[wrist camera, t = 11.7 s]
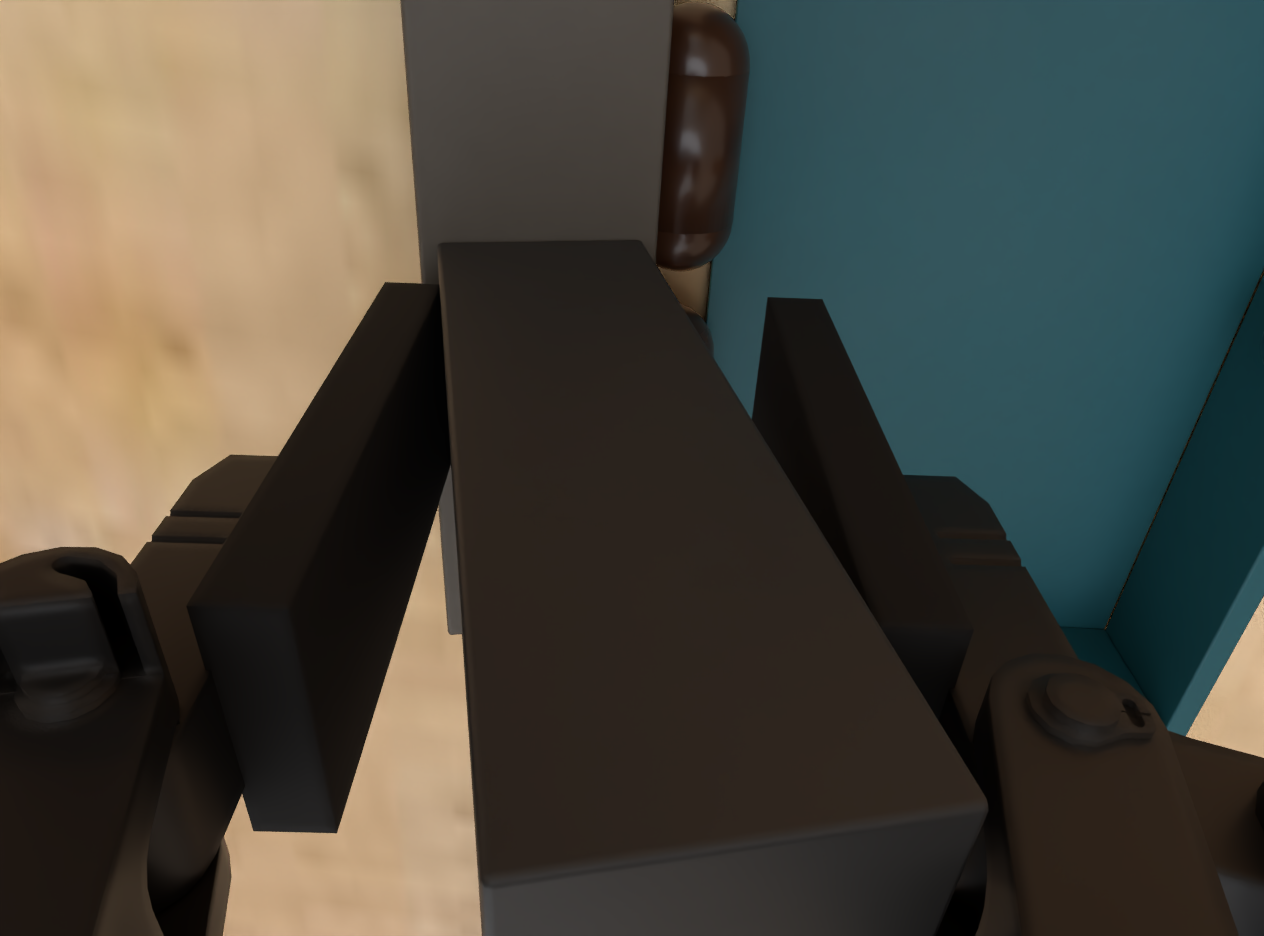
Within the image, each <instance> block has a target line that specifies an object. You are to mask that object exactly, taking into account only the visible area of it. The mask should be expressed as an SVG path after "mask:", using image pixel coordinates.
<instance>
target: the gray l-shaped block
mask: <svg viewBox="0 0 1264 936" xmlns="http://www.w3.org/2000/svg"><path fill="white" fill-rule="evenodd" d="M400 1H401V14H402V27H403V41H404V54H405V67H406V80H407V94H408V107H409V120H410V134H411V147H412V160H413V173H414V187H415V200H416V213H417V227H418V240H419V253H420V266H421V280H422V284H439V287H440V302H441V318H442V333H443V349H444V364H445V380H446V395H447V411H448V426H449V442H450V458H451V466H450V469H449V472H448V476H447V479H446V482H445V485H444V488H443V492H442V495H441V498H440V501H439V519H440V532H441V545H442V559H443V572H444V585H445V598H446V612H447V625H448V632H449V634H450V635H455V634H462V639H463V654H464V670H465V685H466V700H467V715H468V730H469V745H470V760H471V775H472V790H473V805H474V821H475V836H476V851H477V866H478V881H479V896H480V911H481V926H482V936H936V934H937V932H938V929H939V927H940V925H941V922H942V920H943V917H944V915H945V913H946V910H947V908H948V906H949V903H950V901H951V898H952V896H953V894H954V891H955V889H956V887H957V884H958V882H959V880H960V877H961V875H962V872H963V870H964V868H965V865H966V863H967V861H968V858H969V856H970V853H971V851H972V849H973V846H974V844H975V842H976V839H977V837H978V834H979V832H980V830H981V827H982V825H983V823H984V820H985V818H986V816H987V813H988V803H987V799H986V797H985V795H984V794H983V792H982V790H981V789H980V787H979V785H978V784H977V782H976V781H975V779H974V777H973V776H972V774H971V773H970V771H969V769H968V768H967V766H966V765H965V763H964V761H963V760H962V758H961V756H960V755H959V753H958V752H957V750H956V748H955V747H954V745H953V744H952V742H951V740H950V739H949V737H948V735H947V734H946V732H945V731H944V729H943V727H942V726H941V724H940V723H939V721H938V719H937V718H936V716H935V714H934V713H933V711H932V710H931V708H930V706H929V705H928V703H927V702H926V700H925V698H924V697H923V695H922V693H921V692H920V690H919V689H918V687H917V685H916V684H915V682H914V681H913V679H912V677H911V676H910V674H909V673H908V671H907V669H906V668H905V666H904V664H903V663H902V661H901V660H900V658H899V656H898V655H897V653H896V652H895V650H894V648H893V647H892V645H891V643H890V642H889V640H888V639H887V637H886V635H885V634H884V632H883V631H882V629H881V627H880V626H879V624H878V622H877V621H876V619H875V618H874V616H873V614H872V613H871V611H870V610H869V608H868V606H867V605H866V603H865V601H864V600H863V598H862V597H861V595H860V593H859V592H858V590H857V589H856V587H855V585H854V584H853V582H852V580H851V579H850V577H849V576H848V574H847V572H846V571H845V569H844V568H843V566H842V564H841V563H840V561H839V560H838V558H837V556H836V555H835V553H834V551H833V550H832V548H831V547H830V545H829V543H828V542H827V540H826V539H825V537H824V535H823V534H822V532H821V530H820V529H819V527H818V526H817V524H816V522H815V521H814V519H813V518H812V516H811V514H810V513H809V511H808V509H807V508H806V506H805V505H804V503H803V501H802V500H801V498H800V497H799V495H798V493H797V492H796V490H795V488H794V487H793V485H792V484H791V482H790V480H789V479H788V477H787V476H786V474H785V472H784V471H783V469H782V467H781V466H780V464H779V463H778V461H777V459H776V458H775V456H774V455H773V453H772V451H771V450H770V448H769V447H768V445H767V443H766V442H765V440H764V438H763V437H762V435H761V434H760V432H759V430H758V429H757V427H756V426H755V424H754V422H753V421H752V419H751V417H750V416H749V414H748V413H747V411H746V409H745V408H744V406H743V405H742V403H741V401H740V400H739V398H738V396H737V395H736V393H735V392H734V390H733V388H732V387H731V385H730V384H729V382H728V380H727V379H726V377H725V375H724V374H723V372H722V371H721V369H720V367H719V366H718V364H717V363H716V361H715V359H714V358H713V356H712V354H711V353H710V351H709V350H708V348H707V346H706V345H705V343H704V342H703V340H702V338H701V337H700V335H699V334H698V332H697V330H696V329H695V327H694V325H693V324H692V322H691V321H690V319H689V317H688V316H687V314H686V313H685V311H684V309H683V308H682V306H681V304H680V303H679V301H678V300H677V298H676V296H675V295H674V293H673V292H672V290H671V288H670V287H669V285H668V283H667V282H666V280H665V279H664V277H663V275H662V274H661V272H660V271H659V269H658V267H657V266H656V264H655V262H656V248H657V234H658V220H659V206H660V192H661V177H662V163H663V149H664V135H665V121H666V107H667V93H668V79H669V65H670V51H671V37H672V22H673V8H674V0H400Z"/></svg>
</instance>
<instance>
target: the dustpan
mask: <svg viewBox="0 0 1264 936" xmlns="http://www.w3.org/2000/svg"><path fill="white" fill-rule="evenodd" d="M735 22H736V23H737V24H738V26H739V27H740V29H741V30H742V32H743V34H744V36H745V39H746V42H747V44H748V49H749V55H750V72H749V81H748V90H747V99H746V108H745V117H744V126H743V135H742V144H741V154H740V163H739V172H738V181H737V190H736V199H735V208H734V217H733V224H732V228H731V233H730V236H729V238H728V240H727V243H726V244H725V246H724V247H723V249H722V250H721V251H720V253H719V254H718V255H717V256H716V257H714V258H713V259H712V261H711V272H710V282H709V292H708V302H707V313H706V324H707V325H708V328H709V330H710V332H711V335H712V339H713V344H714V357H713V358H714V359H715V361H716V363H717V364H718V366H719V367H720V369H721V371H722V372H723V374H724V375H725V377H726V379H727V380H728V382H729V384H730V385H731V387H732V388H733V390H734V392H735V393H736V395H737V396H738V398H739V400H740V401H741V403H742V405H743V406H744V408H745V409H746V411H747V413H748V414H749V416H750V417H751V419H752V413H753V406H754V398H755V390H756V383H757V375H758V367H759V359H760V352H761V344H762V336H763V329H764V321H765V313H766V305H767V298H768V297H779V298H805V299H823V302H824V304H825V306H826V308H827V310H828V313H829V315H830V317H831V319H832V321H833V323H834V326H835V328H836V330H837V332H838V334H839V336H840V339H841V341H842V343H843V345H844V347H845V350H846V352H847V354H848V356H849V358H850V360H851V363H852V365H853V367H854V369H855V371H856V374H857V376H858V378H859V380H860V382H861V384H862V387H863V389H864V391H865V393H866V395H867V398H868V400H869V402H870V404H871V406H872V408H873V411H874V413H875V415H876V417H877V419H878V422H879V424H880V426H881V428H882V430H883V432H884V435H885V437H886V439H887V441H888V443H889V446H890V448H891V450H892V452H893V454H894V456H895V459H896V461H897V463H898V465H899V467H900V470H901V472H902V474H903V475H927V476H956V477H957V478H958V479H959V480H961V481H962V482H963V483H964V484H965V485H967V486H968V487H969V488H970V489H972V490H973V491H974V492H975V493H977V494H978V495H979V496H980V497H982V498H983V499H984V500H985V501H986V502H988V503H989V504H990V506H991V508H992V510H993V511H994V513H995V515H996V517H997V518H998V520H999V522H1000V524H1001V525H1002V527H1003V529H1004V530H1005V532H1006V534H1007V536H1006V540H1010V541H1011V543H1012V544H1013V546H1014V548H1015V550H1016V551H1017V553H1018V555H1019V557H1020V558H1021V566H1022V567H1026V569H1027V570H1028V572H1029V574H1030V576H1031V577H1032V579H1033V581H1034V583H1035V584H1036V586H1037V588H1038V590H1039V591H1040V593H1041V595H1042V596H1043V598H1044V600H1045V602H1046V603H1047V605H1048V607H1049V609H1050V610H1051V612H1052V614H1053V616H1054V617H1055V619H1056V621H1057V623H1058V624H1059V626H1060V628H1061V629H1062V631H1063V633H1064V635H1065V636H1066V638H1067V640H1068V642H1069V643H1070V645H1071V647H1072V649H1073V650H1074V652H1075V654H1076V655H1077V657H1078V659H1079V660H1082V661H1085V662H1089V663H1092V664H1095V665H1097V666H1099V667H1101V668H1103V669H1105V670H1106V671H1108V672H1110V673H1112V674H1114V675H1115V676H1117V677H1119V678H1121V679H1123V680H1124V681H1126V682H1128V683H1129V684H1130V685H1131V686H1132V687H1133V688H1134V689H1136V690H1137V691H1138V692H1139V693H1140V694H1141V695H1142V696H1143V697H1144V698H1146V699H1147V700H1148V701H1149V702H1150V703H1151V704H1152V705H1153V706H1154V708H1155V710H1156V711H1157V713H1158V715H1159V716H1160V718H1161V720H1162V721H1163V723H1164V725H1165V726H1166V728H1167V730H1168V731H1171V732H1174V733H1177V734H1180V735H1183V736H1186V735H1187V733H1188V731H1189V729H1190V727H1191V726H1192V724H1193V722H1194V720H1195V718H1196V717H1197V715H1198V713H1199V711H1200V709H1201V708H1202V706H1203V704H1204V702H1205V700H1206V699H1207V697H1208V695H1209V693H1210V691H1211V690H1212V688H1213V686H1214V684H1215V682H1216V681H1217V679H1218V677H1219V675H1220V673H1221V672H1222V670H1223V668H1224V666H1225V664H1226V663H1227V661H1228V659H1229V657H1230V655H1231V654H1232V652H1233V650H1234V648H1235V646H1236V645H1237V643H1238V641H1239V639H1240V637H1241V636H1242V634H1243V632H1244V630H1245V629H1246V627H1247V625H1248V623H1249V621H1250V620H1251V618H1252V616H1253V614H1254V612H1255V611H1256V609H1257V607H1258V605H1259V603H1260V602H1261V600H1262V598H1263V596H1264V275H1263V277H1262V279H1261V281H1260V284H1259V286H1258V288H1257V290H1256V293H1255V295H1254V297H1253V299H1252V302H1251V304H1250V306H1249V308H1248V311H1247V313H1246V315H1245V317H1244V320H1243V322H1242V324H1241V326H1240V329H1239V331H1238V333H1237V335H1236V338H1235V340H1234V342H1233V344H1232V347H1231V349H1230V351H1229V353H1228V356H1227V358H1226V360H1225V362H1224V365H1223V367H1222V369H1221V371H1220V374H1219V376H1218V378H1217V380H1216V383H1215V385H1214V387H1213V389H1212V392H1211V394H1210V396H1209V398H1208V401H1207V403H1206V405H1205V407H1204V410H1203V412H1202V414H1201V416H1200V419H1199V421H1198V423H1197V425H1196V428H1195V430H1194V432H1193V434H1192V437H1191V439H1190V441H1189V443H1188V446H1187V448H1186V450H1185V452H1184V455H1183V457H1182V459H1181V461H1180V464H1179V466H1178V468H1177V470H1176V473H1175V475H1174V477H1173V479H1172V482H1171V484H1170V486H1169V488H1168V491H1167V493H1166V495H1165V497H1164V500H1163V502H1162V504H1161V506H1160V509H1159V511H1158V513H1157V515H1156V518H1155V520H1154V522H1153V524H1152V527H1151V529H1150V531H1149V534H1148V536H1147V538H1146V540H1145V543H1144V545H1143V547H1142V549H1141V552H1140V554H1139V556H1138V558H1137V561H1136V563H1135V565H1134V567H1133V570H1132V572H1131V574H1130V576H1129V579H1128V581H1127V583H1126V585H1125V588H1124V590H1123V592H1122V594H1121V597H1120V599H1119V601H1118V603H1117V606H1116V608H1115V610H1114V612H1113V615H1112V617H1111V619H1110V621H1109V624H1108V626H1107V628H1106V630H1104V629H1105V626H1106V624H1107V622H1108V620H1109V617H1110V615H1111V613H1112V611H1113V608H1114V606H1115V604H1116V602H1117V599H1118V597H1119V595H1120V593H1121V590H1122V588H1123V586H1124V583H1125V581H1126V579H1127V577H1128V574H1129V572H1130V570H1131V568H1132V565H1133V563H1134V561H1135V559H1136V556H1137V554H1138V552H1139V550H1140V547H1141V545H1142V543H1143V541H1144V538H1145V536H1146V534H1147V532H1148V529H1149V527H1150V525H1151V523H1152V520H1153V518H1154V516H1155V513H1156V511H1157V509H1158V507H1159V504H1160V502H1161V500H1162V498H1163V495H1164V493H1165V491H1166V489H1167V486H1168V484H1169V482H1170V480H1171V477H1172V475H1173V473H1174V471H1175V468H1176V466H1177V464H1178V462H1179V459H1180V457H1181V455H1182V453H1183V450H1184V448H1185V446H1186V443H1187V441H1188V439H1189V437H1190V434H1191V432H1192V430H1193V428H1194V425H1195V423H1196V421H1197V419H1198V416H1199V414H1200V412H1201V410H1202V407H1203V405H1204V403H1205V401H1206V398H1207V396H1208V394H1209V392H1210V389H1211V387H1212V385H1213V383H1214V380H1215V378H1216V376H1217V373H1218V371H1219V369H1220V367H1221V364H1222V362H1223V360H1224V358H1225V355H1226V353H1227V351H1228V349H1229V346H1230V344H1231V342H1232V340H1233V337H1234V335H1235V333H1236V331H1237V328H1238V326H1239V324H1240V322H1241V319H1242V317H1243V315H1244V313H1245V310H1246V308H1247V306H1248V303H1249V301H1250V299H1251V297H1252V294H1253V292H1254V290H1255V288H1256V285H1257V283H1258V281H1259V279H1260V276H1261V274H1262V272H1263V270H1264V0H737V4H736V14H735Z"/></svg>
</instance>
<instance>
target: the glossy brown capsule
mask: <svg viewBox="0 0 1264 936" xmlns="http://www.w3.org/2000/svg"><path fill="white" fill-rule="evenodd" d="M749 72H750V55H749V49H748V44H747V42H746V39H745V36H744V34H743V32H742V30H741V29H740V27H739V26H738V24H737V23H736V22H735V21H734V20H733V19H732V17H731V16H730V15H729V14H727V13H726V12H724V11H723V10H721V9H720V8H718V7H715V6H713V5H710V4H708V3H702V2H686V3H682V4H678V5H675V6H674V8H673V22H672V37H671V51H670V65H669V79H668V93H667V107H666V121H665V135H664V149H663V163H662V177H661V192H660V206H659V220H658V234H657V248H656V262H655V264H656V265H658V266H660V267H662V268H664V269H668V270H673V271H687V270H692V269H695V268H698V267H701V266H703V265H704V264H706V263H708V262H709V261H711V260H712V259H713V258H714V257H716V256H717V255H718V254H719V253H720V251H721V250H722V249H723V247H724V246H725V244H726V243H727V240H728V238H729V236H730V233H731V228H732V224H733V217H734V208H735V199H736V190H737V181H738V172H739V163H740V154H741V144H742V135H743V126H744V117H745V108H746V99H747V90H748V81H749Z"/></svg>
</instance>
